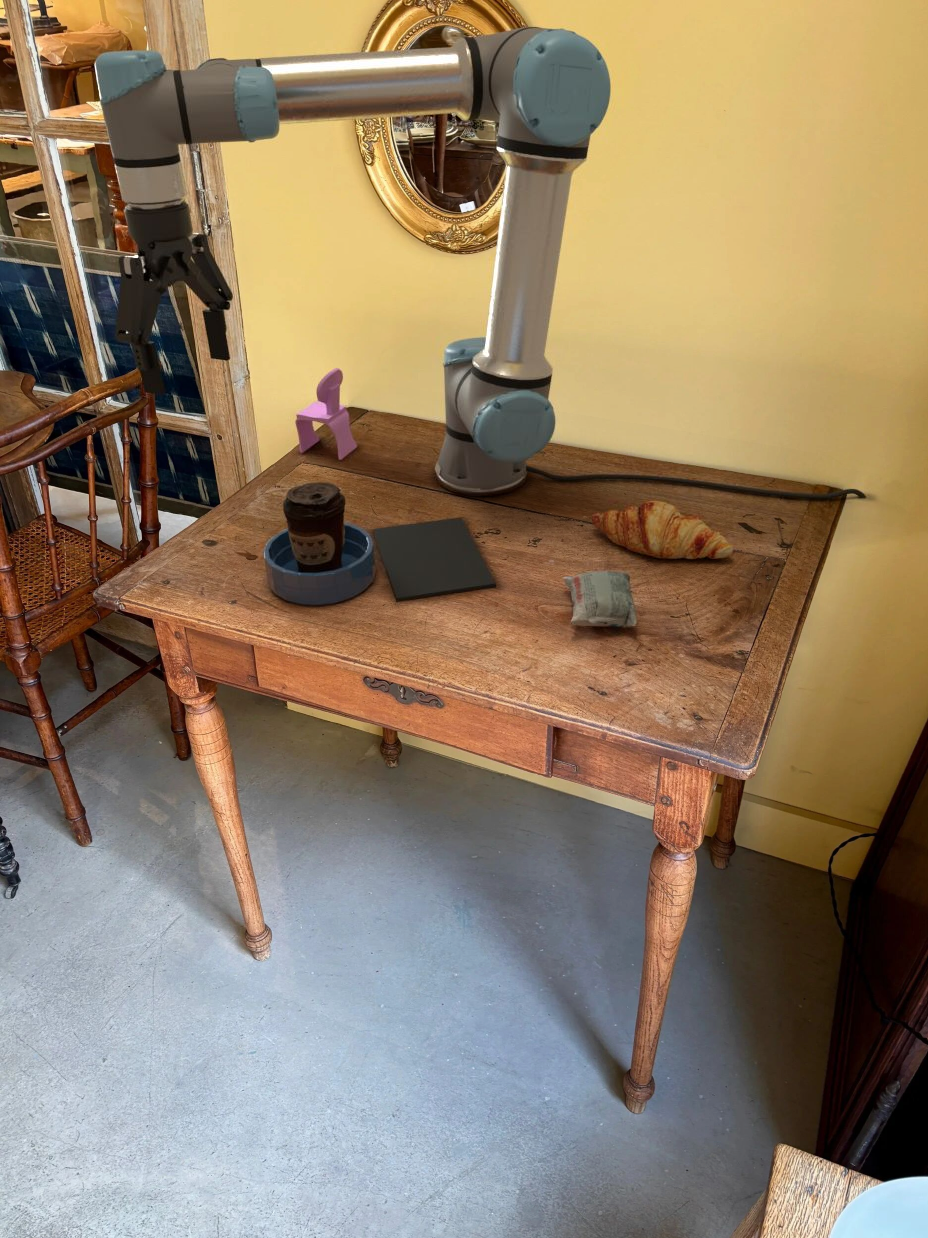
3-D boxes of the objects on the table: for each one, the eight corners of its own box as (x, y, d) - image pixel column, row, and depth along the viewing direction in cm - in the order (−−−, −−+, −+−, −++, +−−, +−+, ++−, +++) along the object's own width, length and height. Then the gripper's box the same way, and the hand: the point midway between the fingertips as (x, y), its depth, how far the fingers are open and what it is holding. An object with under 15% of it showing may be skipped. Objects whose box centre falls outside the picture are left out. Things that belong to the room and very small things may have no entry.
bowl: (366, 544, 140) (363, 515, 137) (383, 597, 128) (381, 566, 125) (265, 558, 137) (260, 528, 134) (273, 614, 125) (268, 582, 122)
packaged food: (568, 639, 119) (570, 607, 116) (562, 589, 129) (564, 558, 126) (637, 640, 119) (641, 608, 116) (626, 590, 128) (629, 559, 126)
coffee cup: (340, 594, 128) (331, 509, 121) (283, 588, 129) (270, 504, 122) (359, 561, 135) (351, 480, 128) (304, 556, 136) (293, 475, 129)
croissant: (731, 571, 138) (744, 518, 137) (723, 573, 129) (738, 516, 127) (594, 541, 145) (605, 490, 144) (577, 541, 136) (589, 486, 135)
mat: (461, 520, 146) (461, 516, 145) (496, 586, 130) (496, 583, 129) (372, 532, 143) (372, 528, 143) (396, 601, 127) (396, 598, 127)
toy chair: (318, 437, 173) (309, 357, 165) (360, 444, 170) (353, 363, 162) (294, 454, 167) (283, 372, 158) (337, 462, 164) (329, 379, 155)
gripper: (195, 181, 122) (223, 342, 134) (54, 221, 104) (100, 404, 116) (243, 185, 120) (266, 349, 132) (106, 226, 101) (148, 412, 113)
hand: (189, 375), depth 124 cm, fingers open, 13 cm apart
